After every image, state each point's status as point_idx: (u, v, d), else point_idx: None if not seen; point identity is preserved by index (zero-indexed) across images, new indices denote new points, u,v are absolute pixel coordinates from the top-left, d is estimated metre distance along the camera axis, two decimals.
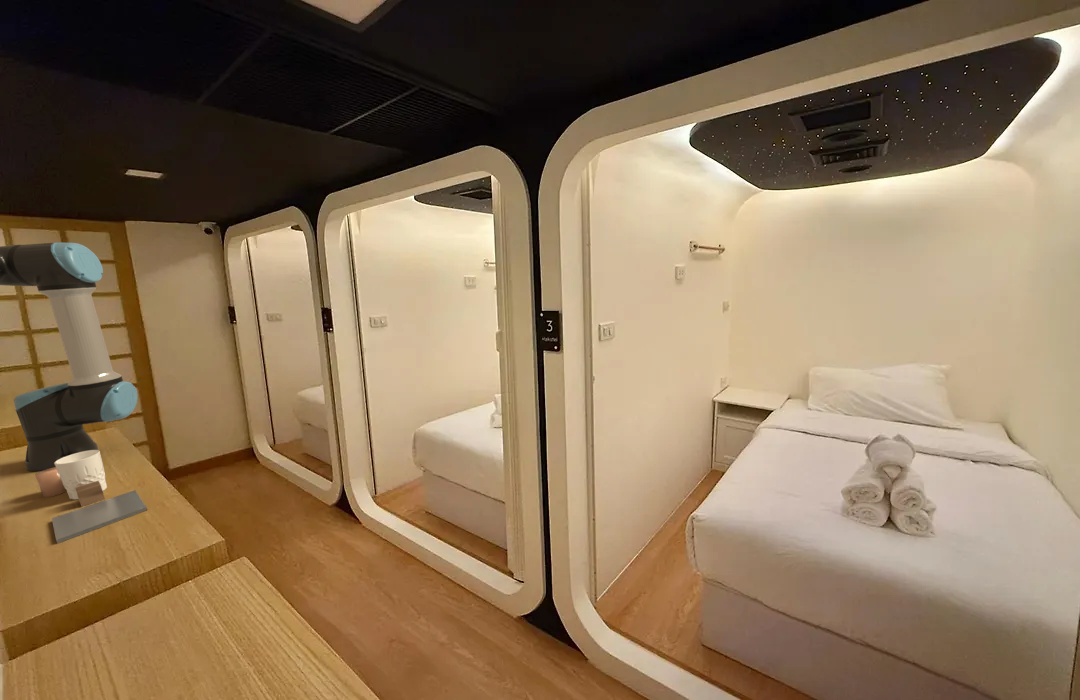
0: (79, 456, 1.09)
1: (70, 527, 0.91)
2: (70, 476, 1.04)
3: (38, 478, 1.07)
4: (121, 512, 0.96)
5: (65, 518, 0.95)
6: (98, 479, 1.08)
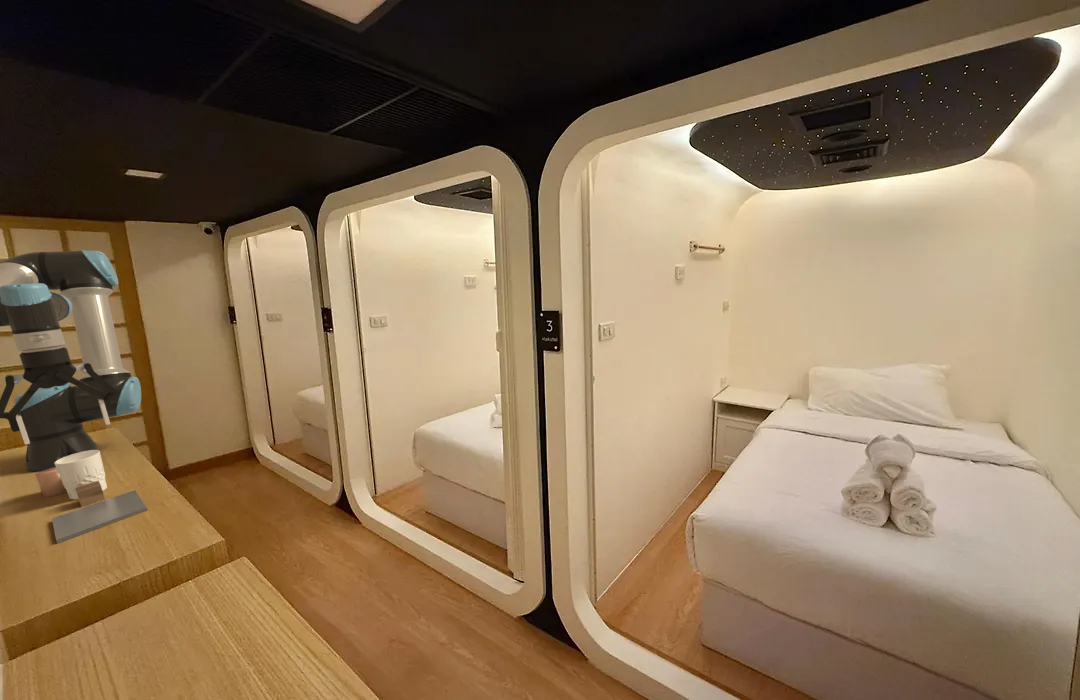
0: (79, 456, 1.09)
1: (70, 527, 0.91)
2: (70, 476, 1.04)
3: (38, 478, 1.07)
4: (121, 512, 0.96)
5: (65, 518, 0.95)
6: (98, 479, 1.08)
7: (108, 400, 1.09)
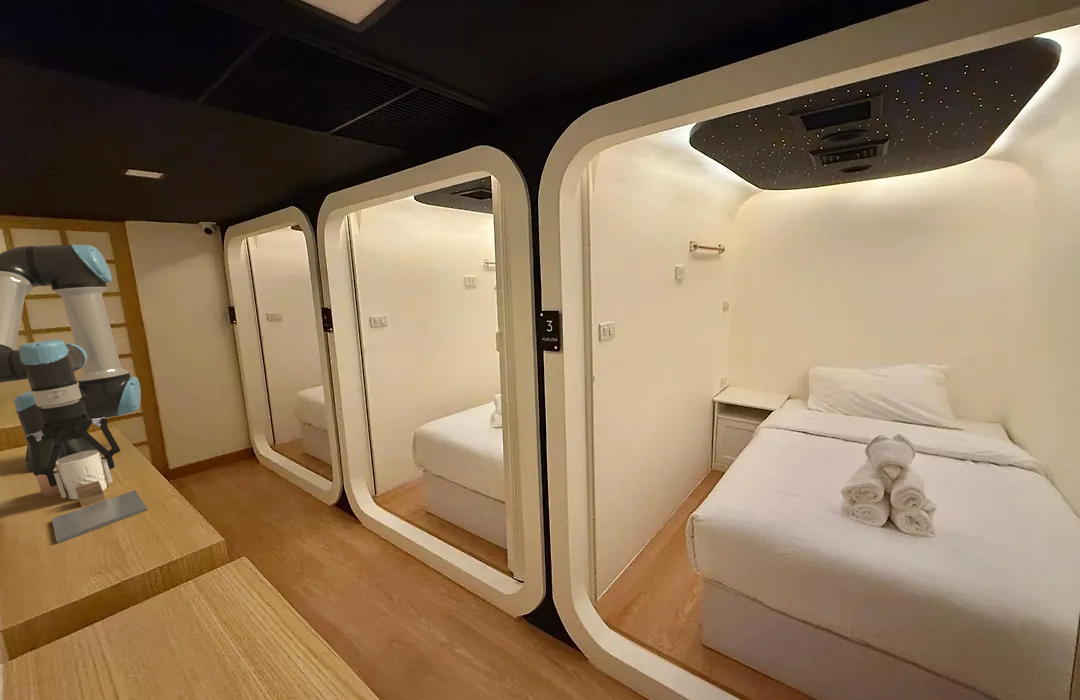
0: (79, 456, 1.09)
1: (70, 527, 0.91)
2: (69, 476, 1.04)
3: (38, 478, 1.07)
4: (121, 512, 0.96)
5: (65, 518, 0.95)
6: (98, 479, 1.08)
7: (111, 458, 1.11)
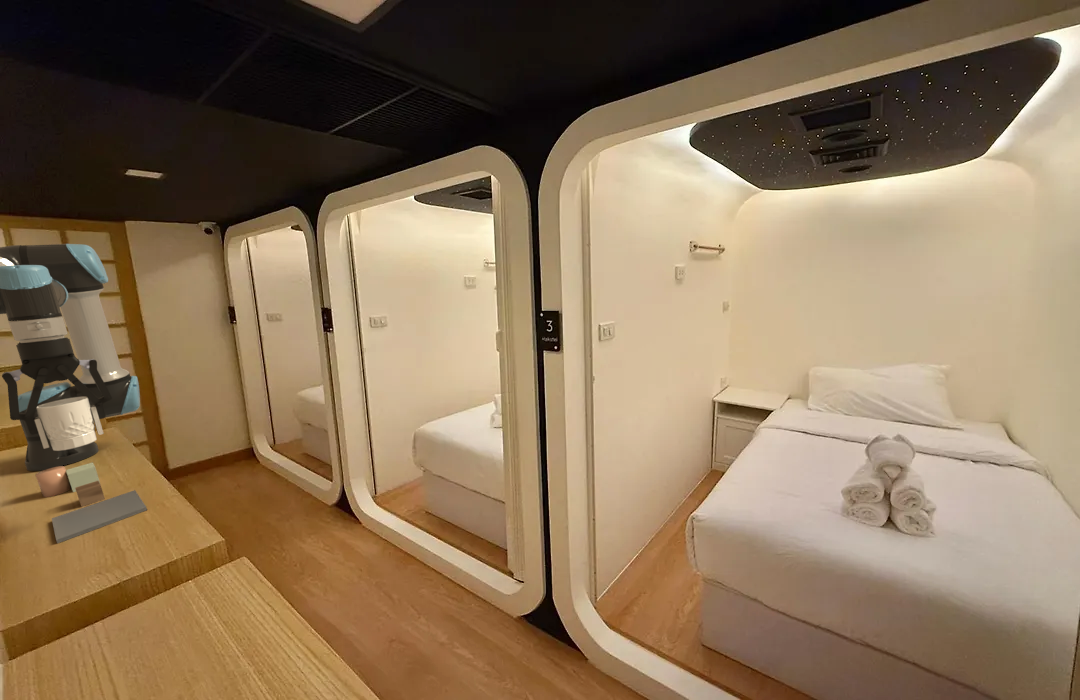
0: (65, 403, 0.95)
1: (70, 527, 0.91)
2: (52, 422, 0.90)
3: (38, 478, 1.07)
4: (121, 512, 0.96)
5: (65, 518, 0.95)
6: (86, 428, 0.94)
7: (101, 407, 0.97)
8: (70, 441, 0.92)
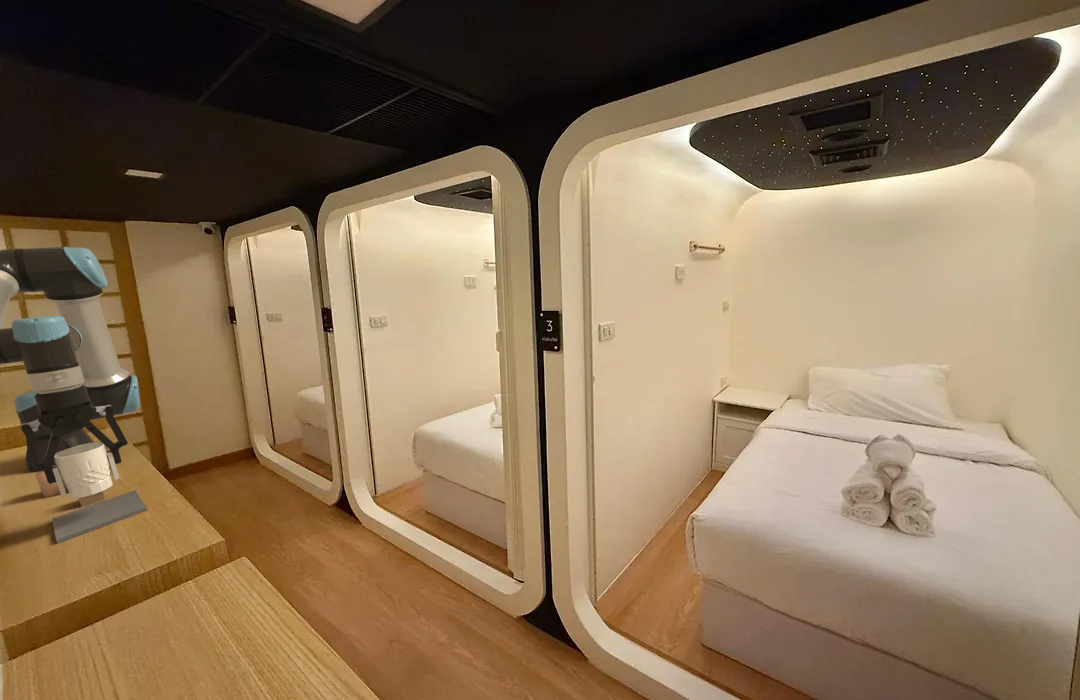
0: (81, 449, 0.96)
1: (70, 527, 0.91)
2: (70, 471, 0.90)
3: (38, 478, 1.07)
4: (121, 512, 0.96)
5: (65, 518, 0.95)
6: (103, 475, 0.95)
7: (117, 452, 0.98)
8: (87, 489, 0.92)
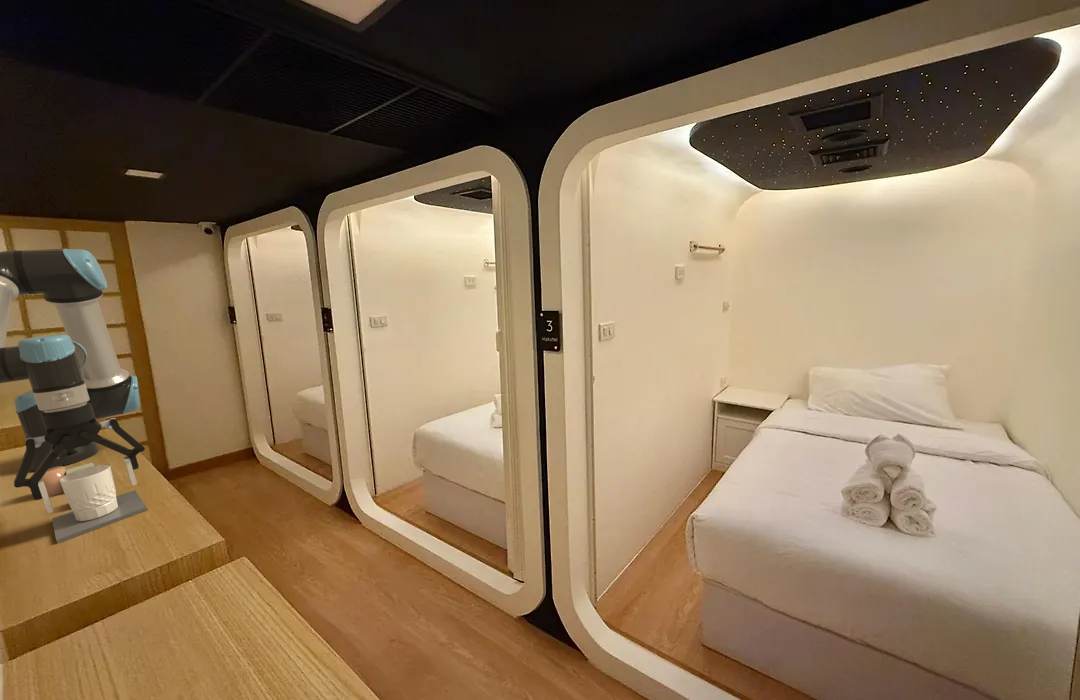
0: (87, 472, 0.97)
1: (70, 527, 0.91)
2: (77, 495, 0.92)
3: None
4: (121, 512, 0.96)
5: (65, 518, 0.95)
6: (109, 497, 0.96)
7: (134, 458, 1.00)
8: (94, 512, 0.94)
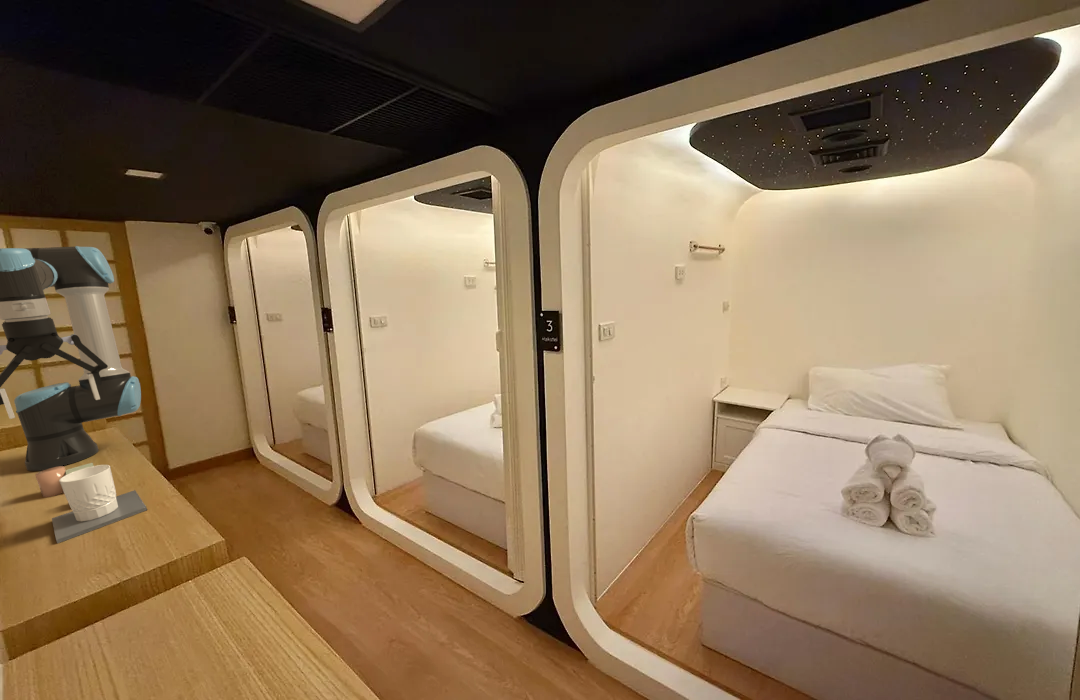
0: (86, 472, 0.97)
1: (70, 527, 0.91)
2: (77, 495, 0.91)
3: (38, 478, 1.07)
4: (121, 512, 0.96)
5: (65, 518, 0.95)
6: (109, 498, 0.96)
7: (97, 374, 1.04)
8: (94, 512, 0.94)
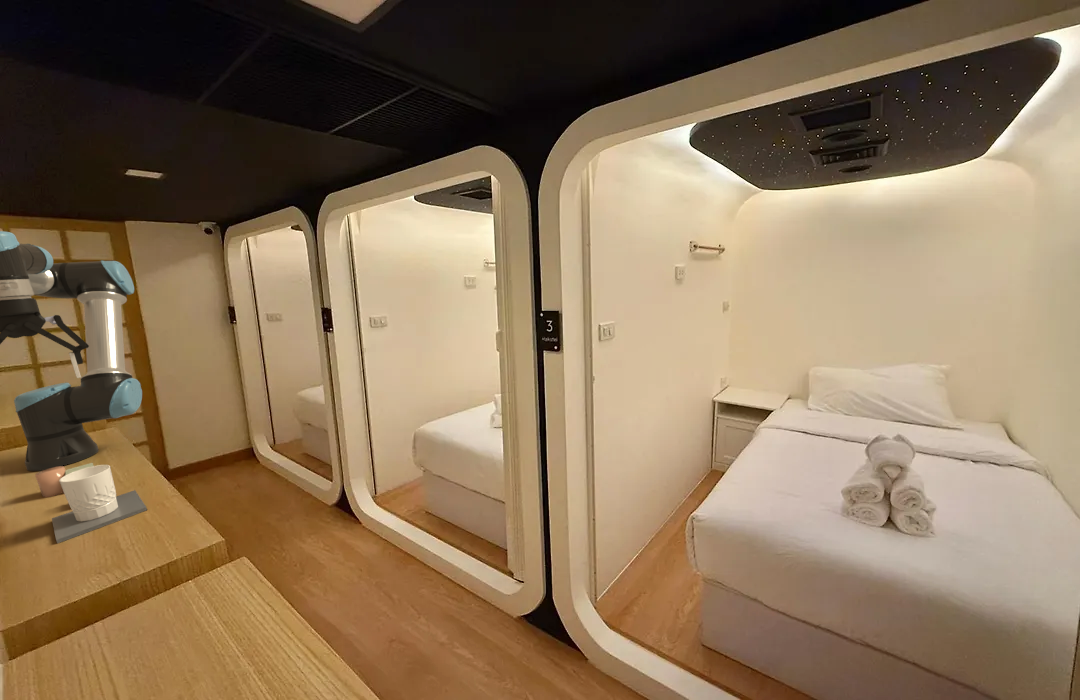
0: (86, 472, 0.97)
1: (70, 527, 0.91)
2: (77, 495, 0.91)
3: (38, 478, 1.07)
4: (121, 512, 0.96)
5: (65, 518, 0.95)
6: (109, 498, 0.96)
7: (79, 353, 1.10)
8: (94, 512, 0.94)
